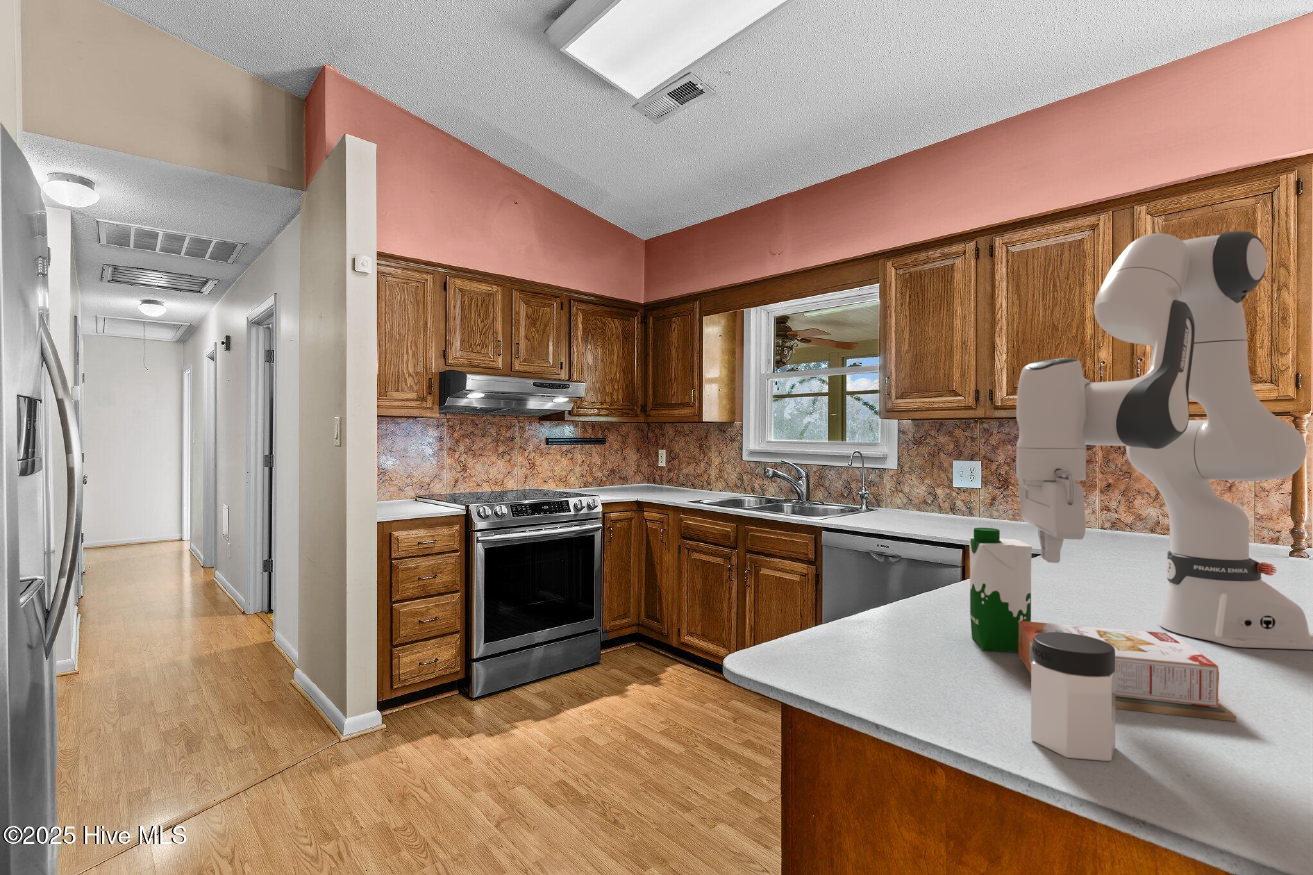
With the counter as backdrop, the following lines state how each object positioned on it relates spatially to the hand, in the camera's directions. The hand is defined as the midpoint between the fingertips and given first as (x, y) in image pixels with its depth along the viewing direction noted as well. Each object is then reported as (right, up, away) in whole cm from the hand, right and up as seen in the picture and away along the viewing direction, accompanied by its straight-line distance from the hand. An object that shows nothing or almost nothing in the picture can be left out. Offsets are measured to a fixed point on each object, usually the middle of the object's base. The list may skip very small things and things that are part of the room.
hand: (1050, 560), depth 96 cm
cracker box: (-3, -14, +1) cm, 14 cm away
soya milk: (+1, -18, +16) cm, 24 cm away
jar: (-10, -18, -20) cm, 28 cm away
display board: (+8, -18, -3) cm, 20 cm away
